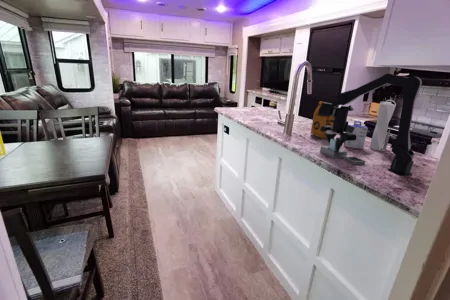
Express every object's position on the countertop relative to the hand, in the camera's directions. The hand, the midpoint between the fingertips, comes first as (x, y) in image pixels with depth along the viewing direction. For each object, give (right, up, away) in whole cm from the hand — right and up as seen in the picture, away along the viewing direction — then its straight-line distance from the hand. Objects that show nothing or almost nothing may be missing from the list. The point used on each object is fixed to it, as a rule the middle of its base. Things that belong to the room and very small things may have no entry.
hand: (333, 148), depth 119 cm
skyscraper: (+30, 0, +14) cm, 33 cm away
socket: (0, -3, +1) cm, 3 cm away
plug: (0, -3, +1) cm, 3 cm away
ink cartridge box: (+18, +1, +16) cm, 24 cm away
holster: (+6, -6, -8) cm, 12 cm away
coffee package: (+7, +8, +34) cm, 35 cm away
